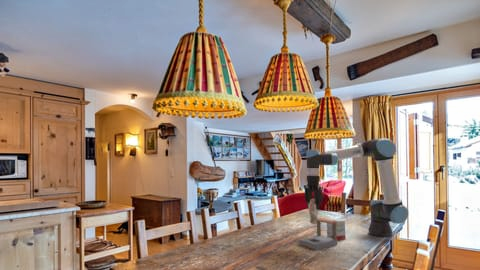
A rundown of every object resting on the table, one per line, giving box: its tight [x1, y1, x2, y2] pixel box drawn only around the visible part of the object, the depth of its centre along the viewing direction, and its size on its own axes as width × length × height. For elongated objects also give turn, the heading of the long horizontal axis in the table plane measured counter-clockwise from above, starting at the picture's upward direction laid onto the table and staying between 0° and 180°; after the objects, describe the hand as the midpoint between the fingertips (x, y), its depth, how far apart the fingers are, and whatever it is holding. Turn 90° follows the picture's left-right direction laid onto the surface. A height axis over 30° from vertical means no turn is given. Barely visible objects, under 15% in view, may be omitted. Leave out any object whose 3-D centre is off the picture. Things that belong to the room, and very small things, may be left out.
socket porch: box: [298, 216, 338, 251], centre depth 183 cm, size 18×14×14 cm
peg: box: [309, 198, 318, 225], centre depth 183 cm, size 4×4×14 cm
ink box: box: [326, 218, 346, 241], centre depth 198 cm, size 9×9×12 cm
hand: (313, 214), depth 183 cm, fingers closed on peg, 4 cm apart
